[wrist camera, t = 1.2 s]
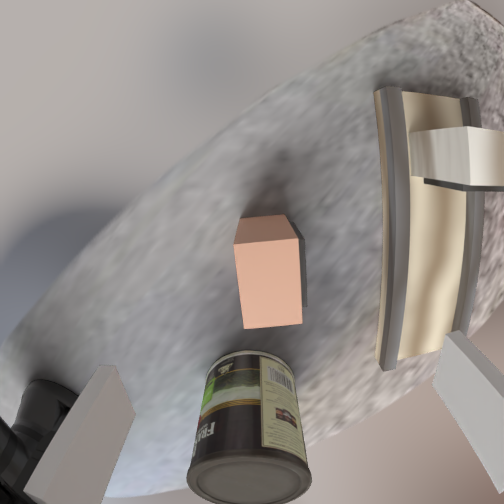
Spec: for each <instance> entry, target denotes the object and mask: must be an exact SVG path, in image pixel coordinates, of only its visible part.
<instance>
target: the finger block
mask: <svg viewBox="0 0 504 504" xmlns="http://www.w3.org/2000/svg"><path fill="white" fill-rule="evenodd" d="M233 245H234V253H235V262H236V270H237V278H238V286H239V293H240V301H241V309H242V317H243V324H244V329H252V328H264V327H274V326H285V325H294V324H302V307H307V279H306V258H305V240H304V238H303V236H302V235H301V233H300V232H299V230H298V228H297V227H296V225H295V224H294V222H291V223H289V221H288V220H287V218H286V216H285V214H281V215H271V216H260V217H250V218H240V220H239V224H238V228H237V232H236V236H235V240H234V244H233Z"/></svg>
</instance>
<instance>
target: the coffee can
mask: <svg viewBox="0 0 504 504" xmlns="http://www.w3.org/2000/svg"><path fill="white" fill-rule="evenodd" d="M187 483H188V486H189V487H190V489H191V490H192V491H193V492H195V493H196V494H197V495H198V496H200V497H202V498H204V499H205V500H208V501H210V502H212V503H215V504H285V503H288V502H290V501H292V500H295V499H296V498H298V497H300V496H301V495H303V494H304V493H305V492H306V491H307V490H308V489H309V487H310V486H311V483H312V477H311V472H310V470H309V468H308V463H307V457H306V450H305V443H304V437H303V431H302V425H301V419H300V413H299V407H298V401H297V395H296V389H295V379H294V375H293V372H292V370H291V369H290V367H289V366H288V365H287V364H286V363H285V362H284V361H282V360H281V359H280V358H278V357H276V356H274V355H272V354H269V353H265V352H262V351H252V350H249V351H239V352H234V353H231V354H228V355H226V356H224V357H222V358H220V359H219V360H218V361H216V362H215V363H214V364H213V365H212V366H211V368H210V369H209V371H208V373H207V376H206V385H205V390H204V396H203V401H202V406H201V412H200V417H199V422H198V427H197V432H196V438H195V443H194V448H193V454H192V459H191V465H190V467H189V469H188V473H187Z"/></svg>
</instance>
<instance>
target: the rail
mask: <svg viewBox="0 0 504 504" xmlns="http://www.w3.org/2000/svg"><path fill="white" fill-rule="evenodd" d="M374 101H375V108H376V117H377V126H378V136H379V147H380V160H381V177H382V203H383V254H382V280H381V297H380V310H379V322H378V332H377V341H376V350H375V358H376V360H377V361H378V363H379V365H380V367H381V369H382V370H383V372H384V371H389V370H393V369H396V364H397V360H399V359H404V358H408V357H412V356H416V355H421V354H425V353H428V352H432V351H436V350H440V349H442V346H443V342H444V338H445V334H447V333H451V332H454V331H458V330H460V331H461V332H462V333H463V334H464V335H465V336H466V335H467V331H468V327H469V322H470V318H471V313H472V308H473V303H474V298H475V292H476V287H477V280H478V273H479V266H480V258H481V249H482V238H483V225H484V202H485V191H497V192H504V132H501V131H495V130H489V129H483V128H482V125H481V116H480V109H479V101H478V99H474V98H470V97H466V98H462V99H457V98H451V97H445V96H438V95H431V94H423V93H415V92H405V91H401V87H392V86H385V87H383V88H381V89H379V90H377V91H375V92H374Z"/></svg>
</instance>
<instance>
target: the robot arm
mask: <svg viewBox="0 0 504 504" xmlns="http://www.w3.org/2000/svg"><path fill="white" fill-rule="evenodd" d="M432 386H433V387H434V388H435V390H436V391H437V393H438V395H439V396H440V397H441V399H442V400H443V402H444V403H445V405H446V406H447V408H448V409H449V411H450V412H451V414H452V416H453V417H454V419H455V420H456V422H457V423H458V425H459V426H460V428H461V430H462V431H463V433H464V434H465V436H466V438H467V439H468V441H469V442H470V444H471V446H472V447H473V449H474V451H475V452H476V454H477V456H478V457H479V459H480V460H481V462H482V464H483V466H484V467H485V469H486V471H487V472H488V474H489V476H490V478H491V480H492V481H493V483H494V485H495V487H496V488H497V490H498V492H499V493H501V492H503V491H504V375H503V374H502V373H501V372H500V371H499V370H498V369H497V367H496V366H495V365H494V364H493V363H491V361H490V360H489V359H488V358H487V357H486V356H485V355H484V354H483V353H482V352H481V351H480V350H479V349H478V348H477V347H476V346H475V345H474V344H473V343H472V342H471V341H470V340H469V339H468V338H467V337H466V336H465V335H464V334H463V333H462V332H461V331H460V330H458V331H454V332H451V333H447V334H445V338H444V342H443V346H442V350H441V354H440V358H439V362H438V366H437V370H436V373H435V377H434V380H433V383H432ZM135 415H136V413H135V411H134V409H133V407H132V404H131V402H130V400H129V398H128V395H127V393H126V391H125V388H124V386H123V383H122V381H121V378H120V376H119V373H118V371H117V368H116V366H108V365H99V367H98V368H97V370H96V371H95V373H94V374H93V376H92V377H91V379H90V380H89V382H88V383H87V385H86V386H85V388H84V389H83V391H82V393H81V394H80V396H79V397H78V396H77V395H75V394H74V393H72V392H71V391H69V390H68V389H66V388H64V387H62V386H60V385H58V384H56V383H53V382H50V381H46V380H36V381H33V382H32V383H31V384H30V385H29V386H28V387H27V388H26V390H25V391H24V392H23V395H22V399H21V404H20V407H19V410H18V413H17V417H16V420H15V423H14V424H13V426H12V427H11V428H10V427H9V426H8V425H7V424H6V422H5V421H4V420H3V419H2V418H1V416H0V504H101V502H102V500H103V497H104V494H105V491H106V489H107V486H108V483H109V481H110V478H111V475H112V473H113V470H114V468H115V465H116V463H117V460H118V457H119V455H120V452H121V450H122V447H123V445H124V442H125V440H126V437H127V435H128V432H129V430H130V427H131V425H132V423H133V420H134V418H135Z"/></svg>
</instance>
